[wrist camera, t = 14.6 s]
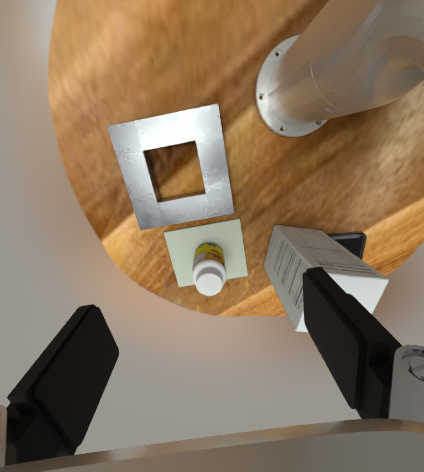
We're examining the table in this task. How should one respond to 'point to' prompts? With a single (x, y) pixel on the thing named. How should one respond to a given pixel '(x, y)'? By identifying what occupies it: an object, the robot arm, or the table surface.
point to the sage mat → (190, 238)
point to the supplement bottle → (209, 269)
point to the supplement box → (314, 255)
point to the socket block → (168, 134)
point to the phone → (351, 242)
